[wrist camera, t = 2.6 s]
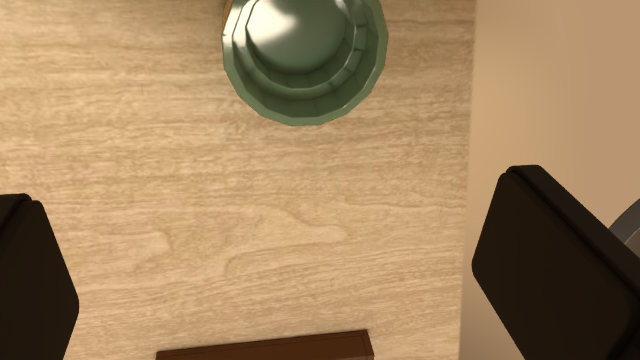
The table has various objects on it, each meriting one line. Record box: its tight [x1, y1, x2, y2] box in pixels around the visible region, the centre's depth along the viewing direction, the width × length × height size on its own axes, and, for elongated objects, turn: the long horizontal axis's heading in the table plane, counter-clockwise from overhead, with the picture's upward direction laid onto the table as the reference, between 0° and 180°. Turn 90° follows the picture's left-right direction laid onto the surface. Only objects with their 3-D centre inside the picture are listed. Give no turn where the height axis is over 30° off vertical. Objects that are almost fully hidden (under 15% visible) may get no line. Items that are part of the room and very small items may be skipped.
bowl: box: [221, 0, 388, 126], centre depth 21 cm, size 7×7×4 cm
